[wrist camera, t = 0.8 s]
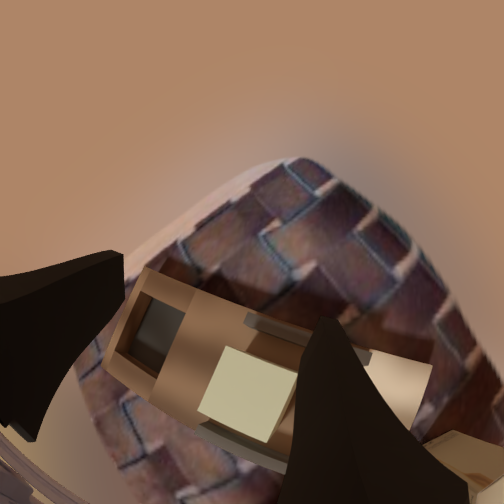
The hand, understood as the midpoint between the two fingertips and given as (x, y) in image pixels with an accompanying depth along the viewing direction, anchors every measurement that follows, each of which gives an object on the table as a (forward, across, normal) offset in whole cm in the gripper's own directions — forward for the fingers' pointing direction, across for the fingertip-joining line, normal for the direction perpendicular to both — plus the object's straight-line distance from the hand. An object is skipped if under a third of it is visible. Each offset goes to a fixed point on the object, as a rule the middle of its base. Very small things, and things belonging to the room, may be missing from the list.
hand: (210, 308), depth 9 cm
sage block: (+6, -4, +12) cm, 14 cm away
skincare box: (+1, -22, +14) cm, 26 cm away
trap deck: (+8, -3, +14) cm, 17 cm away
